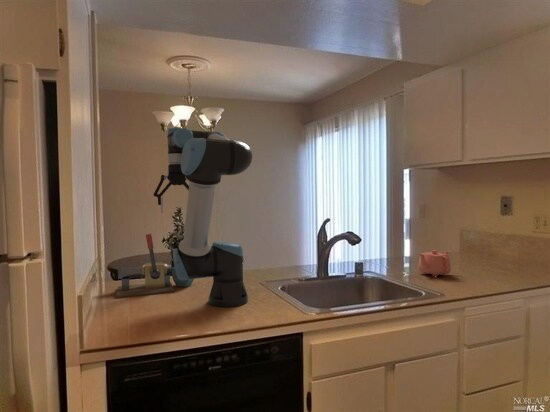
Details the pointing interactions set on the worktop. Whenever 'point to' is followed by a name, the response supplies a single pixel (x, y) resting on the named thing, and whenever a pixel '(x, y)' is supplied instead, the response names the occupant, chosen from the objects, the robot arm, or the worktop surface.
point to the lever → (152, 258)
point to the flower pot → (180, 282)
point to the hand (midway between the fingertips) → (177, 212)
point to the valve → (146, 275)
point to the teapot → (434, 263)
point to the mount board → (142, 291)
